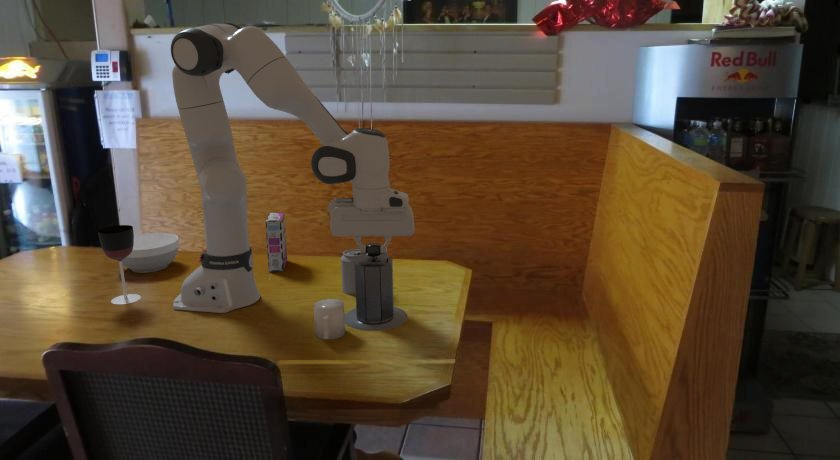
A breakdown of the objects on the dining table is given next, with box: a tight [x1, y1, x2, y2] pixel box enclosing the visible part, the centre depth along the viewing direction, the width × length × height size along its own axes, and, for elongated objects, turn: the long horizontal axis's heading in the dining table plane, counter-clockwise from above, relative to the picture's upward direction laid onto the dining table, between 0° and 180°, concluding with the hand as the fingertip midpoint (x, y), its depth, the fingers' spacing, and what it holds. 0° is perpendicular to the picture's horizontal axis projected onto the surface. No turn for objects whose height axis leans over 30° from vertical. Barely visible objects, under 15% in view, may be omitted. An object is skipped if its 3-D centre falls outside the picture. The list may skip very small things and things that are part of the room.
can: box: [340, 248, 361, 296], centre depth 171 cm, size 8×8×12 cm
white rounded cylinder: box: [313, 298, 346, 340], centre depth 144 cm, size 7×9×8 cm
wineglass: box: [97, 224, 142, 305], centre depth 167 cm, size 8×9×20 cm
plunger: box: [365, 242, 382, 266], centre depth 151 cm, size 6×6×13 cm
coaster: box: [344, 306, 408, 332], centre depth 154 cm, size 16×16×1 cm
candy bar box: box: [265, 212, 288, 273], centre depth 193 cm, size 11×5×16 cm, turn 6°
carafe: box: [355, 253, 395, 325], centre depth 153 cm, size 9×12×16 cm
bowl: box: [122, 232, 180, 274], centre depth 194 cm, size 19×19×9 cm
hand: (373, 253), depth 150 cm, fingers closed on plunger, 4 cm apart
